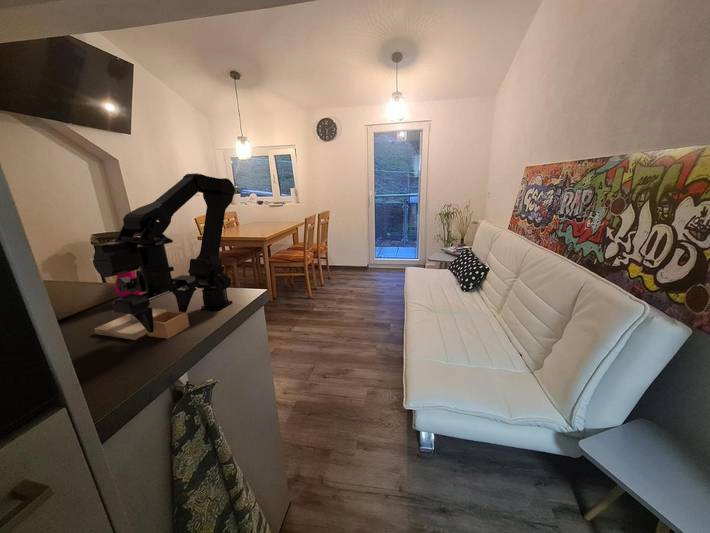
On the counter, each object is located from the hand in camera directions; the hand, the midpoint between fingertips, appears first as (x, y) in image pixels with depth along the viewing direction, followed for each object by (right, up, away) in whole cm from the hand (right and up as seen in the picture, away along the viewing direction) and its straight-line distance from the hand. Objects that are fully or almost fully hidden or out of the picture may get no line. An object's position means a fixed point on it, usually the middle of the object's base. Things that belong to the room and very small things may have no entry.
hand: (168, 323), depth 71 cm
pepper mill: (-26, +3, +21) cm, 34 cm away
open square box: (0, -2, +1) cm, 2 cm away
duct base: (-10, -1, +4) cm, 11 cm away
